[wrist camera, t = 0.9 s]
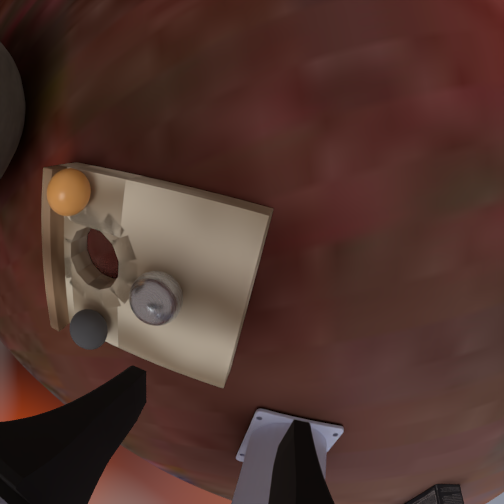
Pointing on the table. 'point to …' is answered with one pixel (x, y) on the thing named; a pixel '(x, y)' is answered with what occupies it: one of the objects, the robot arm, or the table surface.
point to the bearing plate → (157, 265)
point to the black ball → (88, 329)
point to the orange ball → (68, 192)
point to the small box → (440, 495)
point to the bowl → (10, 108)
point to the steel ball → (156, 298)
